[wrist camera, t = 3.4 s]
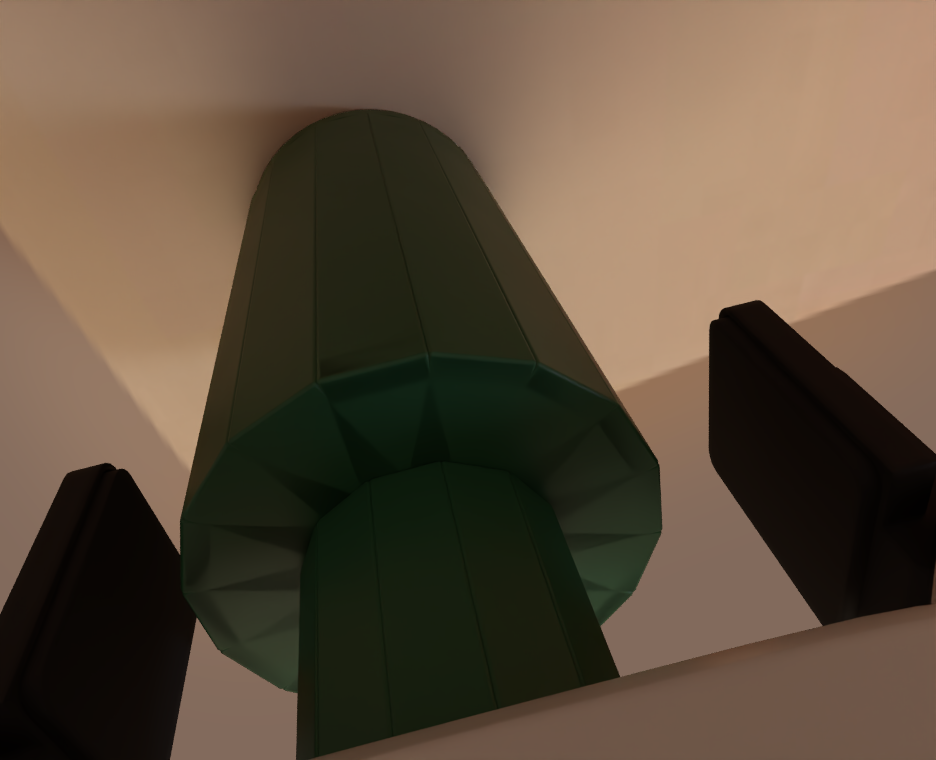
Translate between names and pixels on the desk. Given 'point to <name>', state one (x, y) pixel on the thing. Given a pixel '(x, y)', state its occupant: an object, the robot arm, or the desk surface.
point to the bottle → (406, 450)
